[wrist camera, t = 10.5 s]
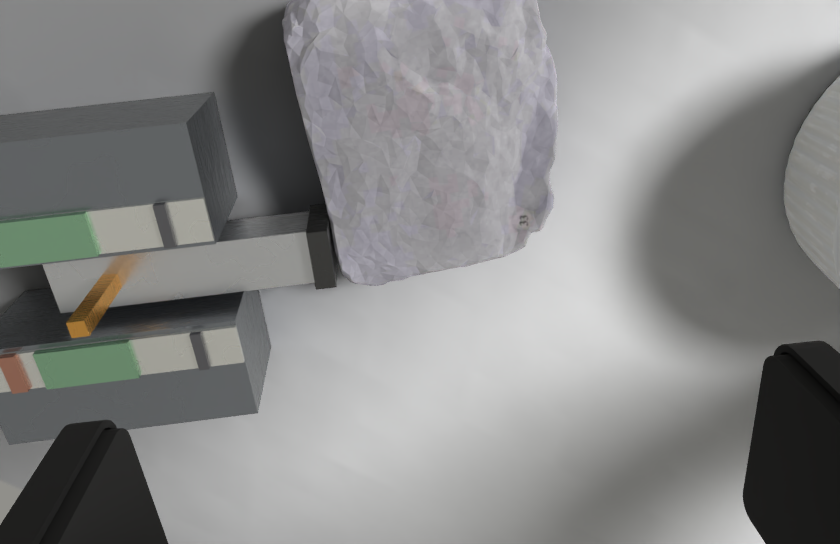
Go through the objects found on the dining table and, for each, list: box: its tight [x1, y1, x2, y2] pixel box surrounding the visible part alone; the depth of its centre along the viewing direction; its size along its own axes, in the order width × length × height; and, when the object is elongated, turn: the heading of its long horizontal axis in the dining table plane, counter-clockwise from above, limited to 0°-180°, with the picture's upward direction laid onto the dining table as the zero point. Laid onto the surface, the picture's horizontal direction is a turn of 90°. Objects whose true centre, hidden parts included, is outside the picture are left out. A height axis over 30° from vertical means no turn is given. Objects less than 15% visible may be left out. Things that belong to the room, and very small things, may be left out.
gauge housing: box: [0, 92, 271, 445], centre depth 27 cm, size 10×12×5 cm
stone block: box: [282, 0, 558, 285], centre depth 27 cm, size 12×5×10 cm
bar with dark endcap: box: [42, 204, 338, 338], centre depth 26 cm, size 11×2×6 cm, turn 95°
